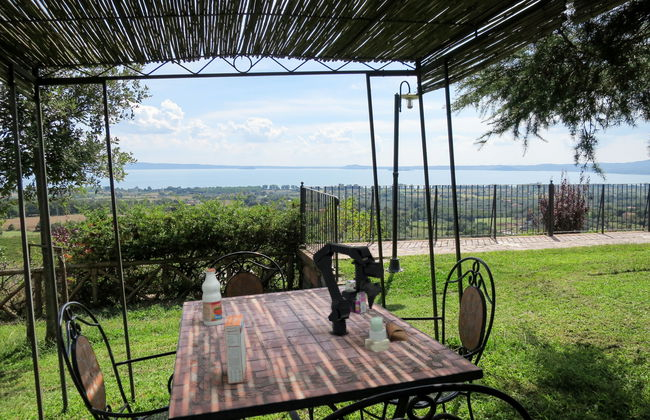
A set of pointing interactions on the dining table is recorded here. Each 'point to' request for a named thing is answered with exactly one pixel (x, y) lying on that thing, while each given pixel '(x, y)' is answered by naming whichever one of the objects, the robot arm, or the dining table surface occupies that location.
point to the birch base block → (377, 345)
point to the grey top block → (377, 335)
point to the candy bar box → (360, 298)
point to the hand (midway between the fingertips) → (362, 311)
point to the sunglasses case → (396, 332)
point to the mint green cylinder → (376, 324)
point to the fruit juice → (211, 299)
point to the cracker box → (235, 349)
